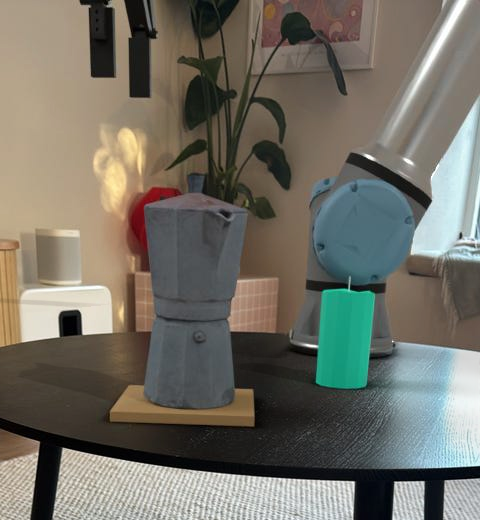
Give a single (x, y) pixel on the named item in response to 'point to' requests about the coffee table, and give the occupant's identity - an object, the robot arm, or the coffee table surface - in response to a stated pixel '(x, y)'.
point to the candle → (344, 338)
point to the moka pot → (192, 297)
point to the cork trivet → (182, 410)
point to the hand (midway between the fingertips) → (123, 88)
